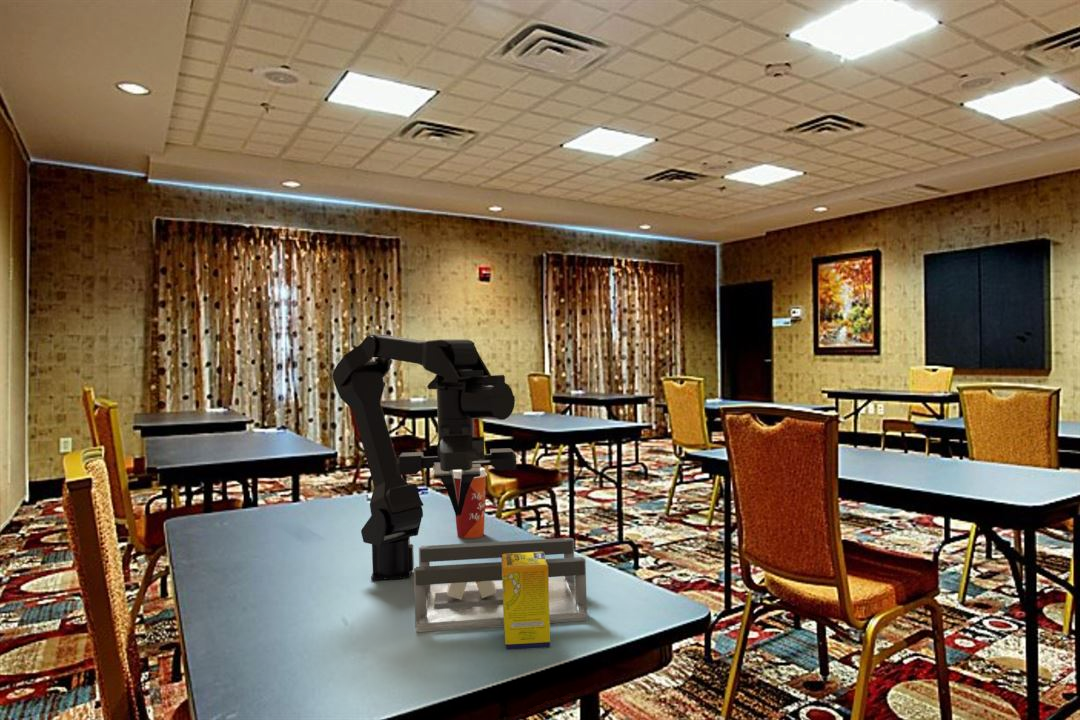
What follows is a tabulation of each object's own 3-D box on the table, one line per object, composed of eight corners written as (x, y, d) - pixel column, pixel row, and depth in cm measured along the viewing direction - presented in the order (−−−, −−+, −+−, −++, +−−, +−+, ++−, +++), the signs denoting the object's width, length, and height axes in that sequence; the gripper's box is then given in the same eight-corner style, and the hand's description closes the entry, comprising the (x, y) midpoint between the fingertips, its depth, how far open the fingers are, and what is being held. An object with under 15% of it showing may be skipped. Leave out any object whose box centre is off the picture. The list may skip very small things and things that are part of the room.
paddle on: (447, 595, 103) (453, 576, 103) (447, 588, 107) (453, 569, 107) (461, 599, 103) (467, 580, 104) (461, 592, 107) (467, 573, 107)
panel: (416, 632, 97) (416, 619, 97) (423, 593, 112) (422, 582, 112) (587, 620, 99) (587, 607, 99) (570, 583, 115) (570, 572, 115)
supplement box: (503, 633, 96) (500, 553, 95) (546, 630, 96) (544, 550, 96) (504, 651, 90) (502, 566, 90) (551, 648, 90) (548, 563, 90)
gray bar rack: (414, 628, 98) (413, 571, 98) (420, 596, 111) (419, 546, 111) (588, 616, 101) (586, 560, 101) (573, 586, 114) (572, 537, 114)
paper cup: (483, 540, 144) (481, 472, 143) (447, 539, 145) (445, 472, 145) (493, 530, 151) (491, 466, 151) (459, 530, 153) (457, 466, 153)
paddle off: (482, 598, 104) (474, 579, 104) (481, 590, 107) (474, 572, 107) (496, 592, 104) (488, 574, 104) (495, 585, 107) (487, 567, 107)
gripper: (391, 424, 103) (394, 530, 103) (517, 420, 105) (520, 524, 105) (398, 418, 114) (400, 513, 114) (512, 414, 116) (515, 508, 116)
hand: (458, 515), depth 112 cm, fingers closed
